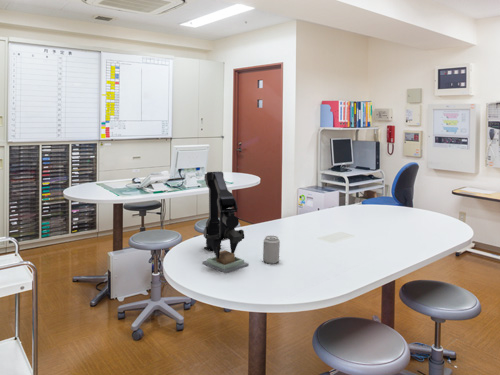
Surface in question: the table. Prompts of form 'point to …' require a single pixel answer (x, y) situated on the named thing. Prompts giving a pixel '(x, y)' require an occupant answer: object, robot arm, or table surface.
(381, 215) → the table surface
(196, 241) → the table surface
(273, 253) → the can
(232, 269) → the grey tray
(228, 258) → the brown rectangular block
